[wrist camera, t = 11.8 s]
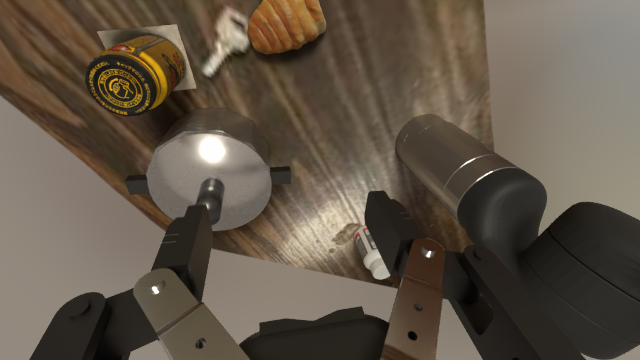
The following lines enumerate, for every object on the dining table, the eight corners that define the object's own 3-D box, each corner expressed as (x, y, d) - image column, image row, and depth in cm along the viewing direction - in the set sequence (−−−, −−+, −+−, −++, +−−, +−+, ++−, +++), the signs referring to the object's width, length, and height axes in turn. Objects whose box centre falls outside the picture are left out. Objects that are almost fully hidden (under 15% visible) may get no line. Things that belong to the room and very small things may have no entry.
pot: (284, 106, 39) (290, 128, 33) (286, 189, 47) (291, 219, 40) (131, 109, 36) (103, 134, 29) (161, 198, 43) (144, 233, 37)
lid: (267, 125, 33) (269, 153, 27) (273, 216, 41) (276, 254, 35) (136, 129, 30) (105, 162, 24) (169, 226, 38) (152, 269, 32)
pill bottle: (363, 247, 59) (380, 285, 51) (348, 236, 56) (363, 275, 48) (382, 232, 58) (403, 269, 50) (368, 220, 55) (387, 257, 47)
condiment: (197, 88, 36) (174, 121, 26) (128, 96, 35) (77, 134, 25) (177, 24, 32) (141, 34, 22) (98, 31, 31) (23, 45, 21)
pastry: (266, 66, 36) (267, 72, 33) (234, 13, 32) (231, 14, 29) (328, 27, 35) (335, 30, 32) (302, -32, 31) (307, -36, 28)
